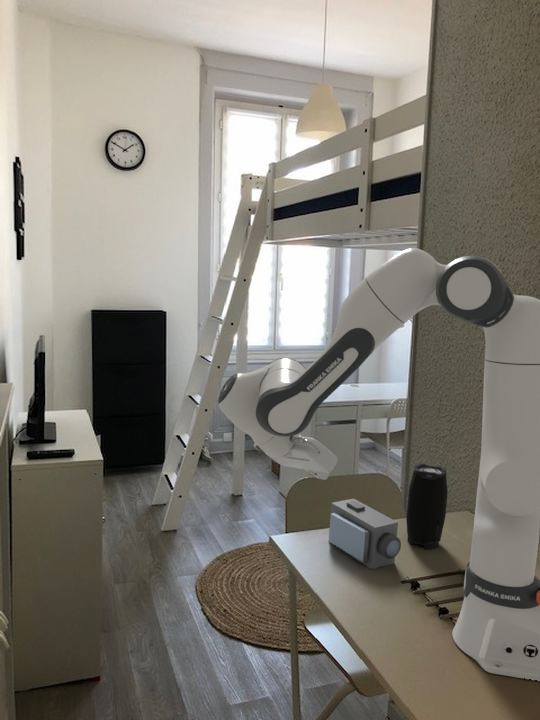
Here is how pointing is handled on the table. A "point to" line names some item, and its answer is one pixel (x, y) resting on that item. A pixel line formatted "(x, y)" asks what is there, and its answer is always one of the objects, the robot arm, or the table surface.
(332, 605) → the table surface
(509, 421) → the robot arm
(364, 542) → the side panel
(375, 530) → the camcorder body
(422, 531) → the portable speaker
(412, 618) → the table surface
